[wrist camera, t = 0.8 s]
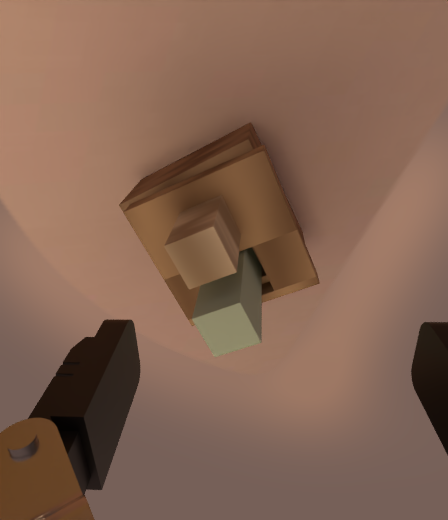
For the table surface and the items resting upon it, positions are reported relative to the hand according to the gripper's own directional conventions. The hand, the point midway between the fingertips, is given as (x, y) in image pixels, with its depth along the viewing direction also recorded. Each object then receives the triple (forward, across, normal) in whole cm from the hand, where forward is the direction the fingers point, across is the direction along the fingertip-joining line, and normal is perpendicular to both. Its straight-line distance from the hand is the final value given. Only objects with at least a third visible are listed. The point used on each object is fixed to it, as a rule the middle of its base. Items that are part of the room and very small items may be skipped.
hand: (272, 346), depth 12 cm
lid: (+17, +2, +4) cm, 18 cm away
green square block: (+20, +2, +6) cm, 21 cm away
